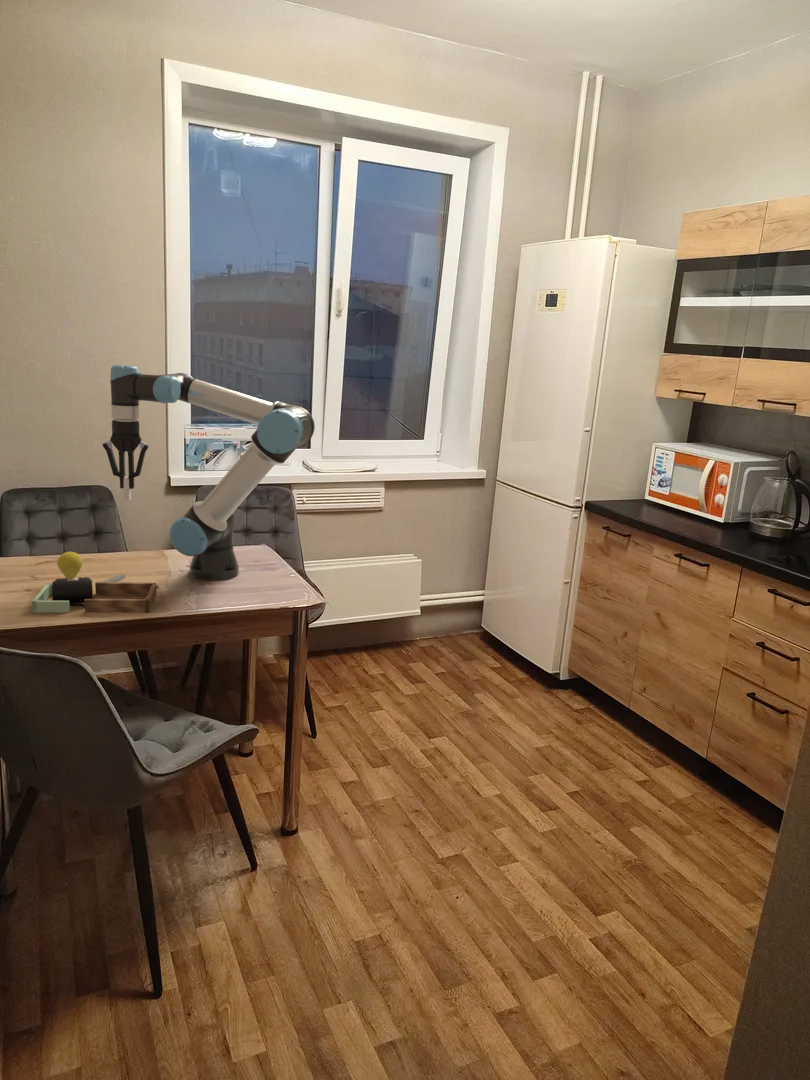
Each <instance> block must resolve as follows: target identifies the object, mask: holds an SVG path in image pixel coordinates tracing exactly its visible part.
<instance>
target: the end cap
mask: <svg viewBox="0 0 810 1080" xmlns="http://www.w3.org/2000/svg"><path fill="white" fill-rule="evenodd" d="M51 583H52V595H51V596H52V597H51V599H52V600H54V601H69V605H75V604H76V605H77V604H84V600H85V599H94V593H93V592H94V591H93V589H94V588H93V579H91V578H90V577H88V576H85V577H82V576H81V577H78V578H77V580H71V581H67V578H66V577H63V578H60V577H59V578H56V579H55V580H53V581H52V582H51Z"/></svg>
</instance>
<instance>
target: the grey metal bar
mask: <svg viewBox="0 0 810 1080" xmlns="http://www.w3.org/2000/svg"><path fill="white" fill-rule="evenodd" d="M125 579H126V574H124V573H118V574H117V575H115V576H112V577H110V578H108V579H107V578H106V579H105V580H103V581H101V582H120V581H121V582H122V581H123V580H125Z"/></svg>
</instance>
